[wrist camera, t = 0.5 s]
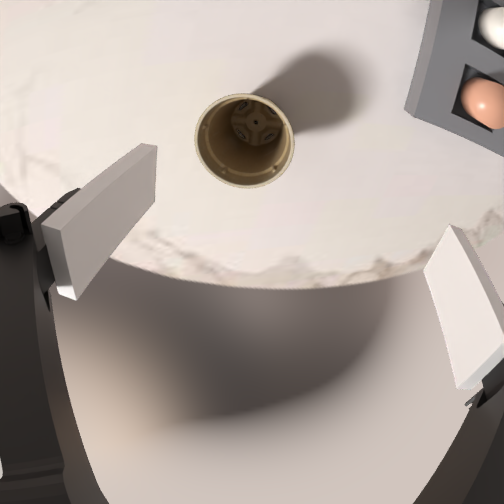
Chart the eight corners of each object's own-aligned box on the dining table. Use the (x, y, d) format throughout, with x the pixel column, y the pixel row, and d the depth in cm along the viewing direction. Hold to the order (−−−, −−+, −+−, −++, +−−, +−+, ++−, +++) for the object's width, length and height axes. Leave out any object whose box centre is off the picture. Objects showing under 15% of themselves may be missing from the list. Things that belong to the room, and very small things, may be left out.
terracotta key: (466, 70, 24) (483, 74, 21) (500, 88, 24) (518, 95, 20) (455, 109, 27) (470, 118, 24) (488, 125, 27) (505, 136, 23)
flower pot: (313, 106, 34) (313, 124, 27) (275, 171, 39) (265, 204, 32) (238, 69, 32) (217, 77, 25) (206, 137, 38) (181, 162, 31)
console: (442, -85, 14) (453, -95, 11) (535, -29, 14) (551, -31, 10) (403, 109, 31) (413, 116, 28) (495, 149, 31) (510, 160, 28)
